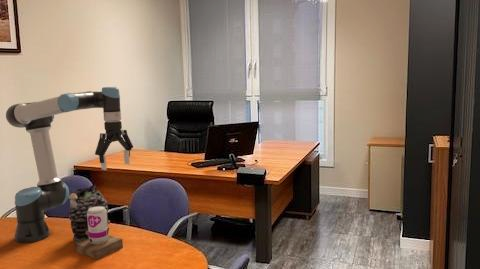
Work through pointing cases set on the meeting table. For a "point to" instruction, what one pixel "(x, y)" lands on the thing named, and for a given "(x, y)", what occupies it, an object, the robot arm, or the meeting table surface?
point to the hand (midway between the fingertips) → (116, 166)
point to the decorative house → (84, 211)
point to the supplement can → (97, 225)
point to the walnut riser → (99, 247)
